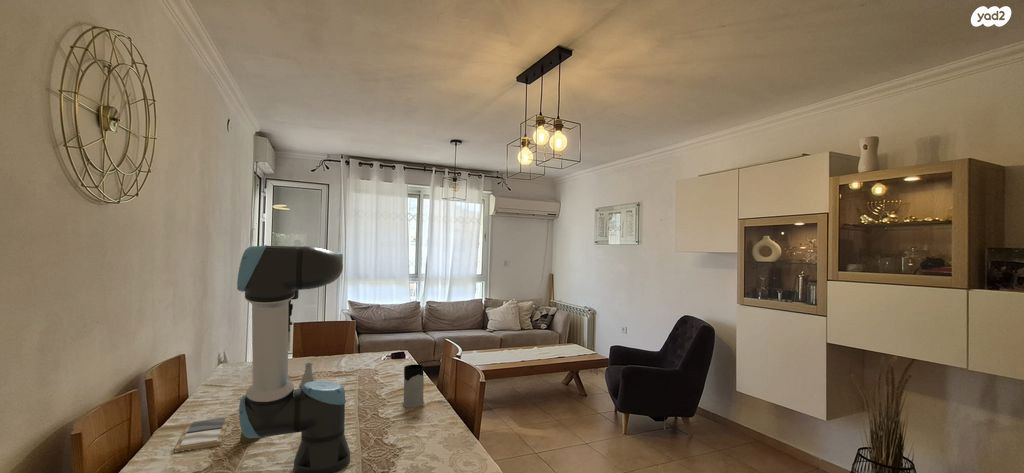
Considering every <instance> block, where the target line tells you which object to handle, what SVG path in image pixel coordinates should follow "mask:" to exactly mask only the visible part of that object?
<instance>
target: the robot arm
mask: <svg viewBox="0 0 1024 473" xmlns="http://www.w3.org/2000/svg"><path fill="white" fill-rule="evenodd" d="M343 261H344V260H343V253H341V252H335V251H333V250H330V249H329V250H328V249H325V248H320V247H318V246H317V247H316V246H307V245H306V246H296V245H295V246H292V245H291V246H289V245H287V246H286V245H266V244H264V245H257V246H255V245H254V246H249V247H247V248H246V249H245V250H244V252H243V254H242V256H241V259H240V263H239V268H238V274H237V280H236V281H237V282H236V286H237V287H236V289H237V291H239V292H241V293H244V298H245V300H246V301H247V302H249V303H250V304H251V322H252V323H251V342H252V343H251V347H252V348H251V351H252V352H251V355H252V358H251V360H252V361H251V362H252V366H251V367H252V369H251V370H252V384H251V385H250V386H249V387H248V388H247V390H246V391H245V394H244V395H242V396H241V397H240V400H239V408H238V412H239V414H238V418H239V427H240V430H241V431H242V433H243V435H244V436H245V437H247V438H261V439H264V438H267V437H273V436H280V435H282V436H283V435H287V434H295V433H300V436H301V437H300V442H299V445H298V448H297V450H296V451H297V452H296V453H295V456H294V459H293V460H294V461H293V472H294V473H338V472H340V471H341V470H343V469H344V468H347V466H348V465H349V464H350V462H351V451H350V447H349V444H348V441H347V439H346V438H347V437H346V436H345V424H346V422H345V419H346V414H345V413H346V412H345V410H346V409H345V408H346V406H345V405H346V402H347V400H346V389H345V387H344V386H343V385H342V384H341V383H338V382H336V381H331V380H316V381H312V382H307V383H305V384H304V385H303V387H301V388H300V389H294V388H295V385H294V382H293V381H291V380H290V379H288V378H289V351H290V348H291V345H290V344H291V326H292V325H293V321H291V316H292V314H293V308H294V303H291V302H292V300H298V299H299V295H300V293H299V291H300V290H301V291H302V290H313V289H317V288H321V287H324V286H327V285H330V284H331V283H334V282H335V281H336V280H338V279H339V278H340V276H341V275H342V273H343V269H344V268H343V267H344V262H343Z"/></svg>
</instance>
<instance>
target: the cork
mask: <svg viewBox="0 0 1024 473" xmlns="http://www.w3.org/2000/svg"><path fill="white" fill-rule="evenodd" d="M259 439H260V440H261V439H262V438H247V437H245V436H244V435H243V433H242V430H241V432H240V438H239V443H241V444H252V443H255V441H256V442H258V441H260V440H259Z"/></svg>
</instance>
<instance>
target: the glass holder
mask: <svg viewBox="0 0 1024 473" xmlns="http://www.w3.org/2000/svg"><path fill="white" fill-rule="evenodd" d="M424 379H425V377H424V365H422V364H408V365H404V367H403V401H402V402H403V403H402V406H403V407H405V408H409V409H414V407H416V408H420V407H423V406H424V405H425V401H424V389H425V387H424V384H425V383H424V382H425V380H424ZM423 404H424V405H423ZM422 405H423V406H422ZM419 406H420V407H419Z"/></svg>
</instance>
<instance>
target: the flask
mask: <svg viewBox="0 0 1024 473" xmlns="http://www.w3.org/2000/svg"><path fill="white" fill-rule="evenodd" d="M304 366H305V367H304V368H305V369H304V373H303V376H302V379H301V381H300V384H299V387H301V388H302V387H303V385H304V384H305V383H307V382H312V381H317V380H316V379H315V375H314V373H313V362H306V363H305V364H304Z"/></svg>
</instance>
